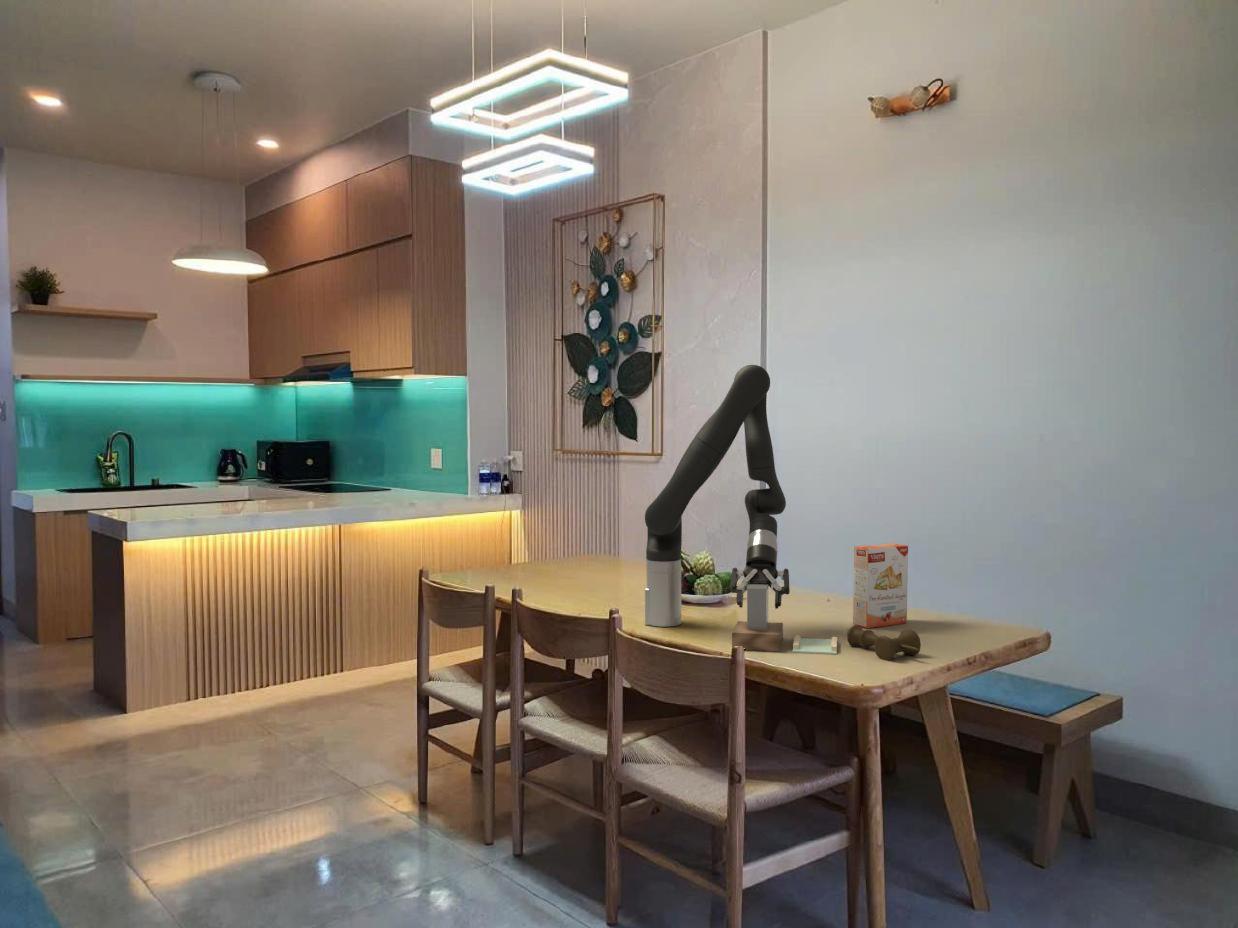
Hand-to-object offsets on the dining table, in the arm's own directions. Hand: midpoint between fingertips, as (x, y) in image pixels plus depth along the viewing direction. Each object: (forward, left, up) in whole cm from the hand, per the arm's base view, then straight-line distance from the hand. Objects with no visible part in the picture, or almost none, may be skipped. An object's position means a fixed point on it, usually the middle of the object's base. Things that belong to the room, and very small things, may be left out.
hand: (758, 606), depth 223 cm
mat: (+13, +1, -9) cm, 16 cm away
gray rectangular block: (0, +1, -5) cm, 5 cm away
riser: (0, +1, -9) cm, 9 cm away
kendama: (+29, -3, -10) cm, 31 cm away
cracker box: (+29, +29, -10) cm, 43 cm away
